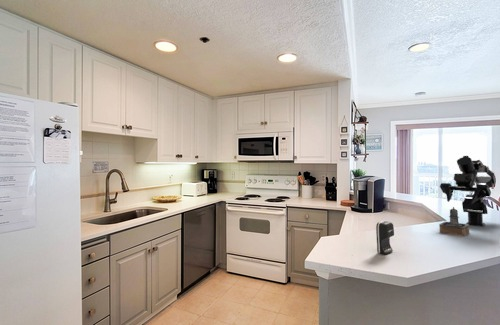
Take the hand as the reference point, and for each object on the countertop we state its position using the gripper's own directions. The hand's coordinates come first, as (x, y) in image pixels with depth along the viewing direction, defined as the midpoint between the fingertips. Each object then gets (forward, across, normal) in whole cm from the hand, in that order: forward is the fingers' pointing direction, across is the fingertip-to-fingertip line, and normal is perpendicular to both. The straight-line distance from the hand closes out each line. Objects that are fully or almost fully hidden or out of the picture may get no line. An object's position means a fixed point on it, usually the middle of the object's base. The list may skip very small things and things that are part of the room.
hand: (459, 202), depth 119 cm
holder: (+15, 0, +5) cm, 15 cm away
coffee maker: (+51, -2, -32) cm, 60 cm away
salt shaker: (+15, 0, +5) cm, 15 cm away
